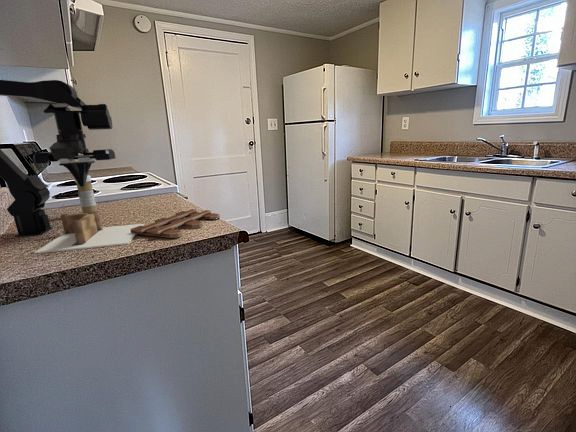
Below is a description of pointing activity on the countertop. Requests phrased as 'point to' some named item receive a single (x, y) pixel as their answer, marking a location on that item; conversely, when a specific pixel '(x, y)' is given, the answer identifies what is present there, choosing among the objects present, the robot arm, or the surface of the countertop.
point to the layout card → (92, 239)
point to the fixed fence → (69, 218)
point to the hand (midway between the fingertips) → (82, 186)
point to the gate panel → (84, 228)
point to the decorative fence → (175, 223)
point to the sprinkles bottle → (87, 196)
